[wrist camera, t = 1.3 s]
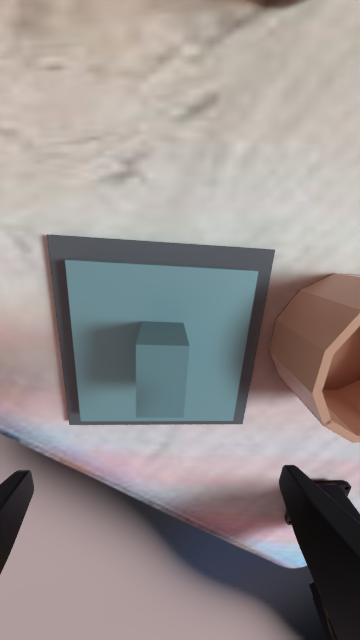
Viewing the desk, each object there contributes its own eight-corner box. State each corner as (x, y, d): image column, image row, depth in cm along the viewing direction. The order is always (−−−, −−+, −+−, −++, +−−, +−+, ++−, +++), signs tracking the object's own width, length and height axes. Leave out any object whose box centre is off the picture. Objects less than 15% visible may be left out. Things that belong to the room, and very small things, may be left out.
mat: (240, 419, 22) (242, 424, 21) (72, 419, 20) (69, 424, 20) (271, 249, 17) (275, 249, 16) (51, 235, 15) (46, 234, 15)
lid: (229, 411, 21) (249, 462, 16) (85, 411, 20) (59, 466, 15) (251, 269, 17) (289, 279, 12) (72, 259, 16) (29, 265, 11)
